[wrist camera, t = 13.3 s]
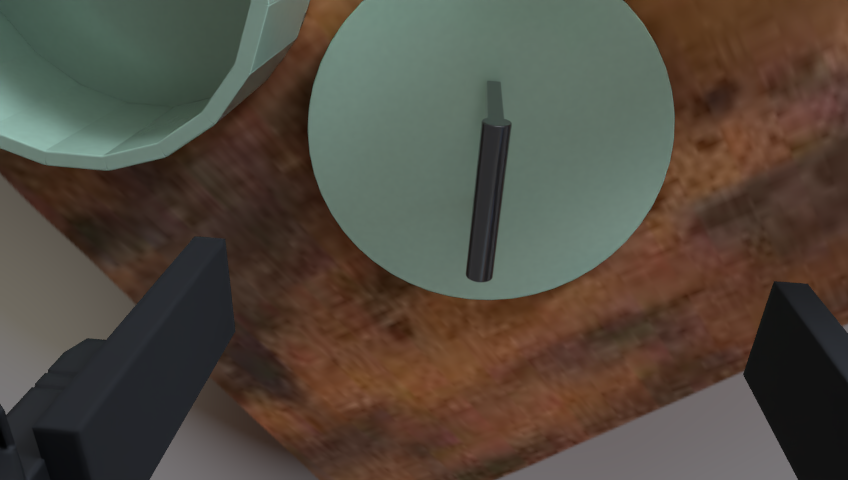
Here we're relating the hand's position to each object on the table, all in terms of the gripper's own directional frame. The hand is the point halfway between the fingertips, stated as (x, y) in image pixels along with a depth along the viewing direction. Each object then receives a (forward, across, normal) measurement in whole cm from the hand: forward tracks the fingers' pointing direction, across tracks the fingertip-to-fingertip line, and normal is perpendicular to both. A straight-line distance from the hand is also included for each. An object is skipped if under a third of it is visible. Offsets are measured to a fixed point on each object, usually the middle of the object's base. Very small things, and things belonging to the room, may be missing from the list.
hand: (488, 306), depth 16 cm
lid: (+19, 0, -2) cm, 19 cm away
